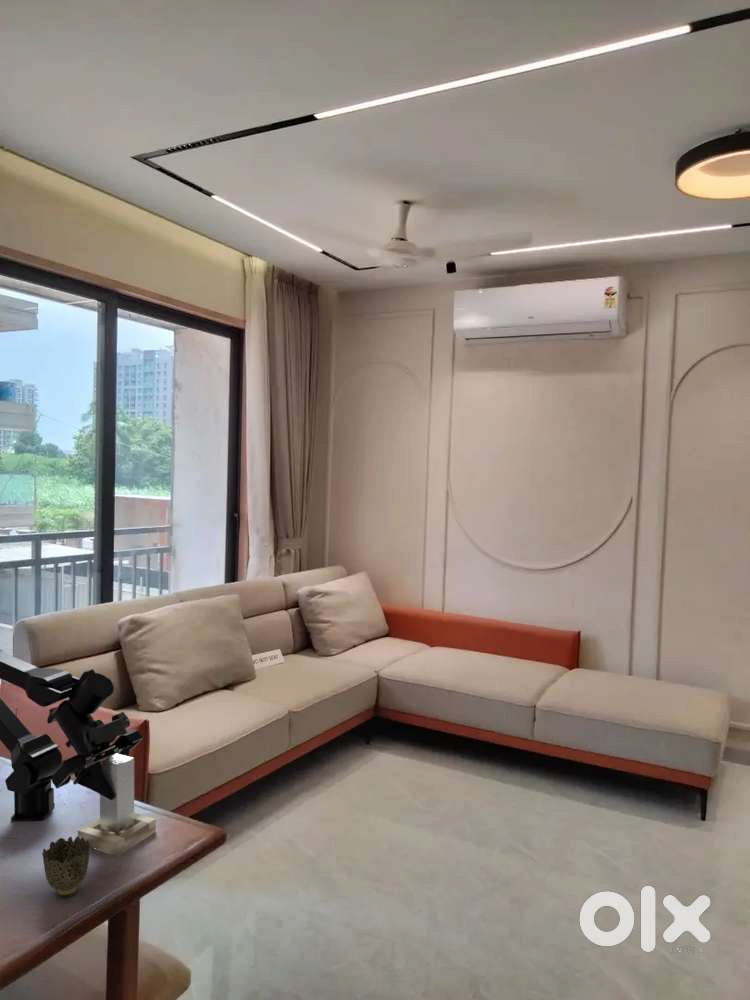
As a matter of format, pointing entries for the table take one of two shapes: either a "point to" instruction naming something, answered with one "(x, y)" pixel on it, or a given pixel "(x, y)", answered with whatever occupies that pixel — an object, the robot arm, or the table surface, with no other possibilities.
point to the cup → (66, 865)
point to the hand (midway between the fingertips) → (122, 793)
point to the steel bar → (118, 793)
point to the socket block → (118, 835)
